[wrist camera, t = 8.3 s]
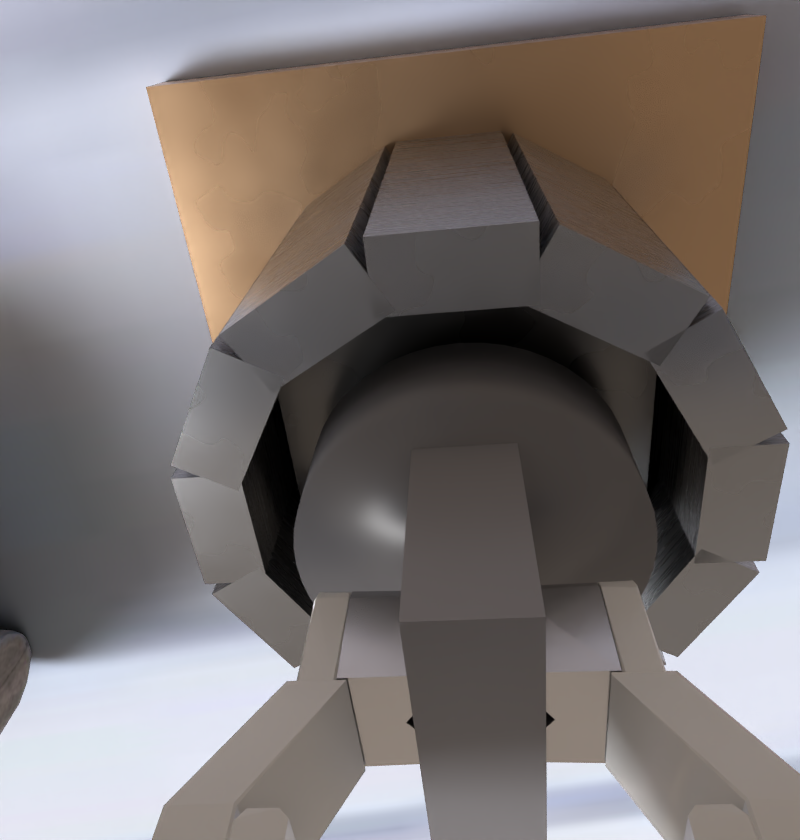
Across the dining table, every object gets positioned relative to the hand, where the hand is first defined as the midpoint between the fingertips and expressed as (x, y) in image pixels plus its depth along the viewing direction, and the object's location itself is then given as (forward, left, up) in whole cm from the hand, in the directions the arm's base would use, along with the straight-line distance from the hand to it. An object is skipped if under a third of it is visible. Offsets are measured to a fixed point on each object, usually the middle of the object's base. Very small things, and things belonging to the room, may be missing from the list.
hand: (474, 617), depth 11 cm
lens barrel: (0, 0, -12) cm, 12 cm away
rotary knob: (0, 0, -3) cm, 3 cm away
